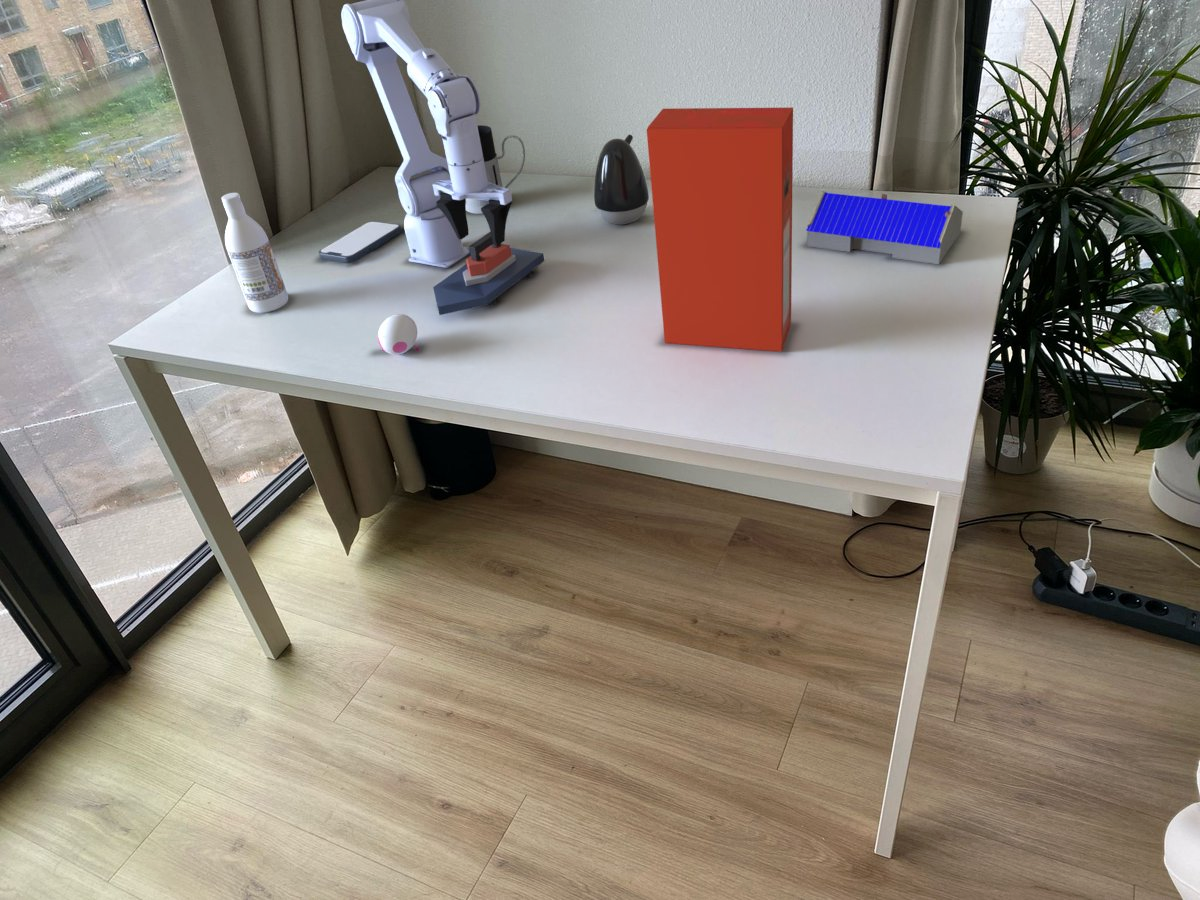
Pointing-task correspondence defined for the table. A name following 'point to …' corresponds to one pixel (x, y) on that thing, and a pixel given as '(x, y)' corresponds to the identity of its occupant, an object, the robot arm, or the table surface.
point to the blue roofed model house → (884, 226)
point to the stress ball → (397, 334)
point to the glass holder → (490, 165)
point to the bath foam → (252, 259)
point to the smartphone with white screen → (360, 242)
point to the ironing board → (483, 284)
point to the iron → (486, 260)
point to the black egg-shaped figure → (620, 183)
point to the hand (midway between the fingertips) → (481, 239)
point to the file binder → (723, 224)
